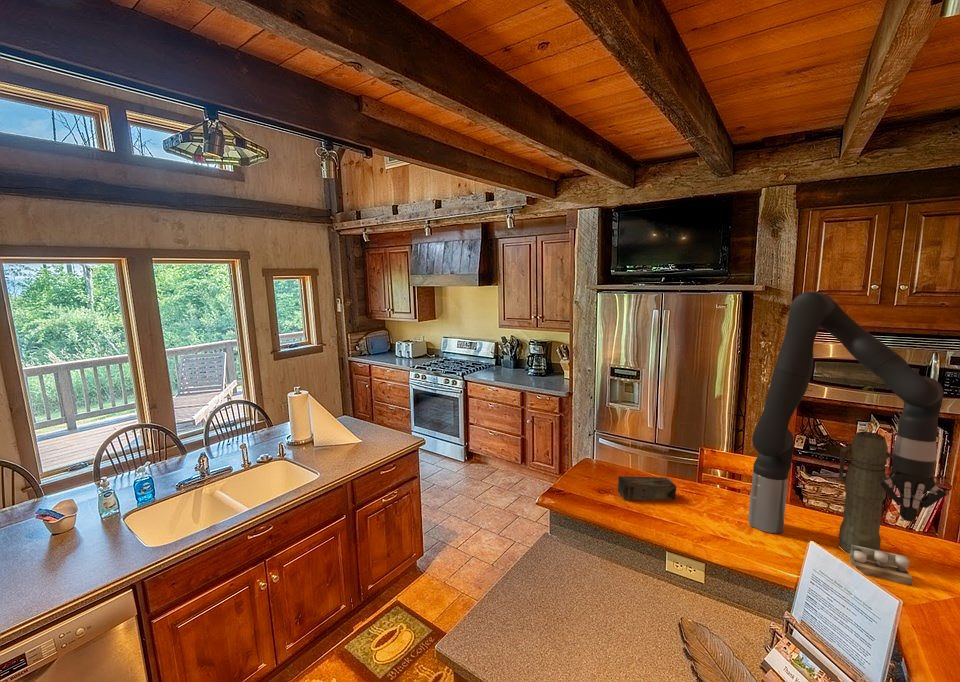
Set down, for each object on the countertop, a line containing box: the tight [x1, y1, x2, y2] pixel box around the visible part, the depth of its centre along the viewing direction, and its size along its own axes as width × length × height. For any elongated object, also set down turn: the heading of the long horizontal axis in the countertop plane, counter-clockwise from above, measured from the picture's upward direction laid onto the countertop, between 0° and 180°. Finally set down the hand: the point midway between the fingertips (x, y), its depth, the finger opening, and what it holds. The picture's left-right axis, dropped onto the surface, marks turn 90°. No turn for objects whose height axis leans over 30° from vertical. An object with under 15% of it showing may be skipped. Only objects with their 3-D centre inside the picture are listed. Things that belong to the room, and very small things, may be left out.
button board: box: [848, 545, 914, 587], centre depth 115 cm, size 11×6×5 cm, turn 62°
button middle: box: [874, 550, 888, 568], centre depth 115 cm, size 3×3×4 cm
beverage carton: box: [617, 475, 677, 501], centre depth 158 cm, size 8×19×7 cm, turn 90°
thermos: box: [838, 431, 896, 555], centre depth 123 cm, size 9×12×35 cm
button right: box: [895, 554, 911, 573], centre depth 113 cm, size 3×3×4 cm
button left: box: [853, 551, 867, 563], centre depth 117 cm, size 3×3×4 cm
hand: (907, 519), depth 112 cm, fingers closed
